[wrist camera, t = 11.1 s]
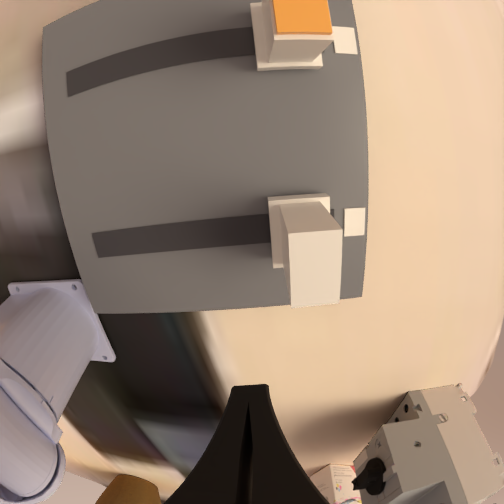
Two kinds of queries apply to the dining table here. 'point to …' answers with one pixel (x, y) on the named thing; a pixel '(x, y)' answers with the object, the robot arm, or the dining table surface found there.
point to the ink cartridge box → (337, 484)
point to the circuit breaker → (429, 454)
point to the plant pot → (130, 491)
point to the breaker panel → (196, 151)
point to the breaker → (307, 248)
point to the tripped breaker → (290, 33)
